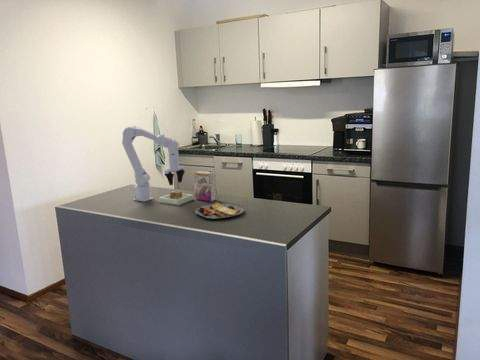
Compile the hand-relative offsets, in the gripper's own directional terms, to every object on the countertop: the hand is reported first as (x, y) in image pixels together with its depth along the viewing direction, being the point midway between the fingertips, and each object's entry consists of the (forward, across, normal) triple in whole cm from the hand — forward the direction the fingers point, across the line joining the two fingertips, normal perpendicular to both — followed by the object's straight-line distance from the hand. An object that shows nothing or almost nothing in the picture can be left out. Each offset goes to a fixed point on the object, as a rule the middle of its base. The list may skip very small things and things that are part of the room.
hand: (175, 183), depth 236 cm
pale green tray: (+9, -4, -3) cm, 11 cm away
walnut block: (+9, -4, -4) cm, 10 cm away
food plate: (+10, -12, -41) cm, 44 cm away
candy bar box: (+10, +6, -17) cm, 21 cm away
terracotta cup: (+9, +12, -8) cm, 17 cm away
